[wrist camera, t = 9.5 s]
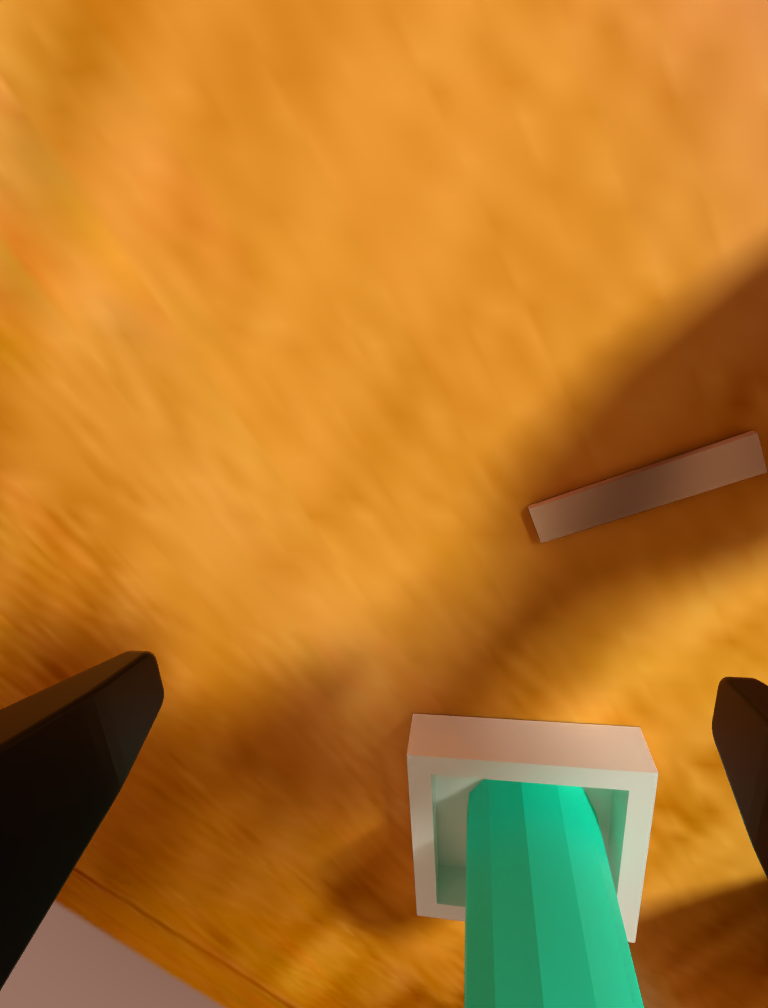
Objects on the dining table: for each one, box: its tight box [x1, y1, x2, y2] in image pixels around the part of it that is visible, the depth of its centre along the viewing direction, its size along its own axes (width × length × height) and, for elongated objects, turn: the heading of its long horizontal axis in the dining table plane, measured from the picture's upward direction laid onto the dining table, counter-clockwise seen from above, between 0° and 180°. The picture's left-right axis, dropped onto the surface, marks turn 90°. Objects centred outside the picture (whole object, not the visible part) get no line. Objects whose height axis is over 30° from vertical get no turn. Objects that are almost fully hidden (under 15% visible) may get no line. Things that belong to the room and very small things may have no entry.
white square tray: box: [407, 713, 658, 943], centre depth 24 cm, size 10×11×3 cm
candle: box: [464, 779, 644, 1008], centre depth 19 cm, size 6×6×12 cm
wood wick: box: [528, 431, 767, 543], centre depth 19 cm, size 8×2×1 cm, turn 114°
